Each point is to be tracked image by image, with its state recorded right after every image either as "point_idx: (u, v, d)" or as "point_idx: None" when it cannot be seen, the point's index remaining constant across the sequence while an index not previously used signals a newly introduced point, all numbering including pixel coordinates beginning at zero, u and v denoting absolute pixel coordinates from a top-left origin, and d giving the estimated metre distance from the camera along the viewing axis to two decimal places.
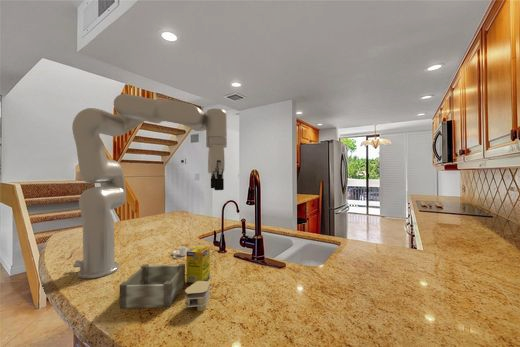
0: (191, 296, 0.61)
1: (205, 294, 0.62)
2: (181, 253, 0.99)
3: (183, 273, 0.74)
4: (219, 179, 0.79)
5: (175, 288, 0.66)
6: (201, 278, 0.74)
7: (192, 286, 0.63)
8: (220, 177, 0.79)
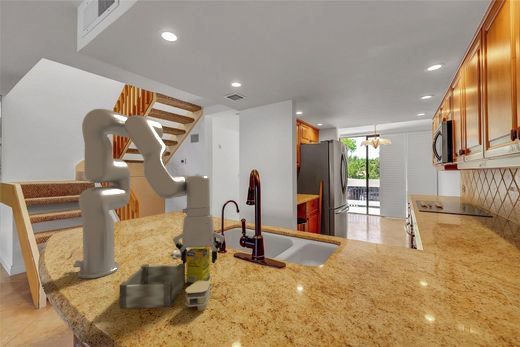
0: (191, 295, 0.61)
1: (205, 294, 0.62)
2: None
3: (183, 273, 0.74)
4: (216, 250, 0.77)
5: (175, 288, 0.66)
6: (201, 278, 0.74)
7: (192, 286, 0.64)
8: None
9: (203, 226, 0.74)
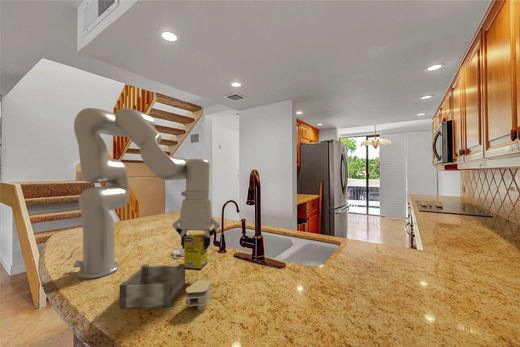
0: (191, 295, 0.61)
1: (205, 293, 0.62)
2: (181, 253, 1.00)
3: (183, 273, 0.74)
4: None
5: (175, 288, 0.66)
6: (199, 263, 0.74)
7: (193, 285, 0.64)
8: (211, 234, 0.78)
9: (201, 209, 0.74)
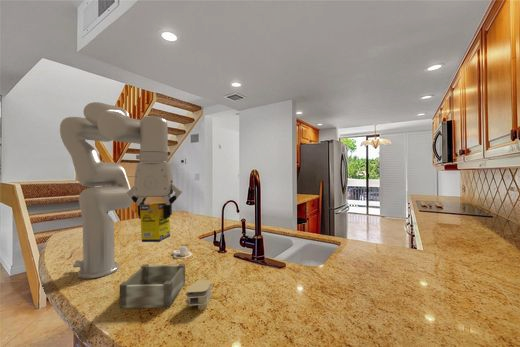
0: (192, 295, 0.61)
1: (206, 293, 0.62)
2: (181, 253, 1.00)
3: (183, 273, 0.74)
4: (170, 205, 0.69)
5: (175, 288, 0.66)
6: (158, 233, 0.65)
7: (193, 285, 0.64)
8: (172, 202, 0.69)
9: (158, 173, 0.66)
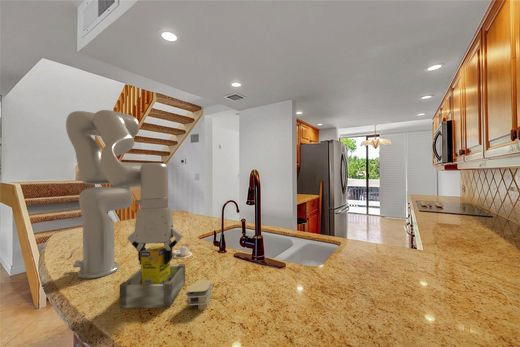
0: (192, 294, 0.61)
1: (206, 293, 0.62)
2: (181, 253, 1.00)
3: (183, 273, 0.74)
4: (171, 249, 0.69)
5: (175, 288, 0.66)
6: (158, 280, 0.65)
7: (194, 284, 0.64)
8: (172, 247, 0.69)
9: (158, 219, 0.66)
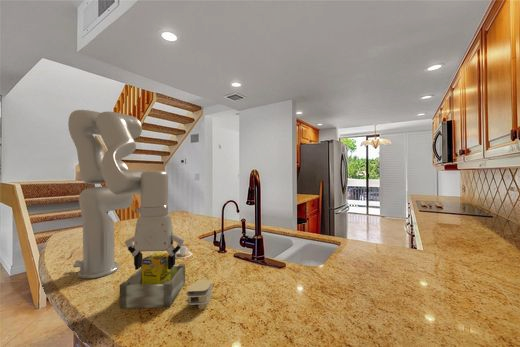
0: (192, 294, 0.62)
1: (206, 293, 0.62)
2: (182, 253, 1.00)
3: (183, 273, 0.74)
4: (174, 255, 0.69)
5: (175, 288, 0.66)
6: None
7: (194, 284, 0.64)
8: None
9: (158, 228, 0.66)
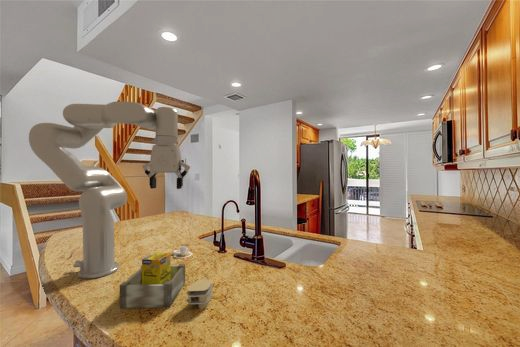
0: (192, 294, 0.62)
1: (206, 292, 0.62)
2: (182, 252, 1.00)
3: (183, 273, 0.74)
4: (182, 178, 0.84)
5: (175, 288, 0.66)
6: None
7: (194, 284, 0.65)
8: (183, 176, 0.84)
9: (169, 153, 0.81)
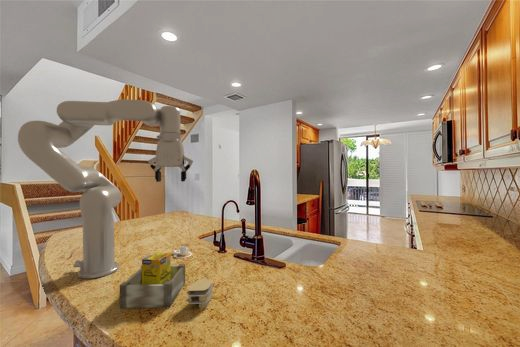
0: (193, 293, 0.62)
1: (206, 292, 0.63)
2: (182, 252, 1.00)
3: (183, 273, 0.74)
4: (185, 171, 0.91)
5: (175, 288, 0.66)
6: None
7: (195, 284, 0.65)
8: None
9: (173, 148, 0.88)
